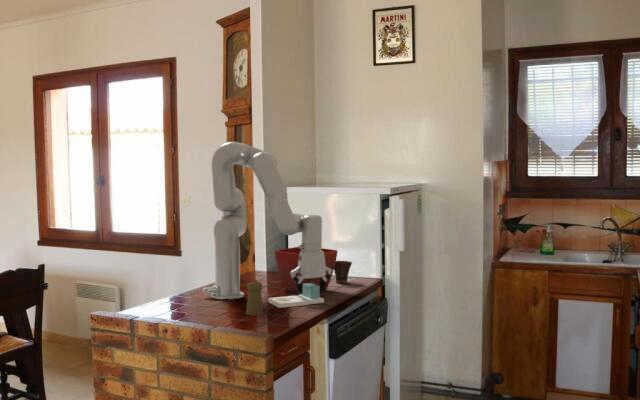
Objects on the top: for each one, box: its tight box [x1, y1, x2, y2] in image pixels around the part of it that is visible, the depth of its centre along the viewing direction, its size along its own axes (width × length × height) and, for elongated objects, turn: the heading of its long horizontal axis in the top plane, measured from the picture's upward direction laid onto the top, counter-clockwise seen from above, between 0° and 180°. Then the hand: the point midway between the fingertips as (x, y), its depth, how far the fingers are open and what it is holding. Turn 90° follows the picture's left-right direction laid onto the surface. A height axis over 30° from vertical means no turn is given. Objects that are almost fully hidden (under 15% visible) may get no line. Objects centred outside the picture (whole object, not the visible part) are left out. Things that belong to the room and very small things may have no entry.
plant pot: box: [274, 246, 338, 294], centre depth 242 cm, size 19×19×17 cm
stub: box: [297, 283, 325, 305], centre depth 223 cm, size 6×10×6 cm, turn 27°
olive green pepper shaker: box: [245, 280, 264, 316], centre depth 203 cm, size 6×6×11 cm
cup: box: [333, 260, 353, 285], centre depth 260 cm, size 9×9×10 cm
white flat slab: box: [268, 294, 310, 309], centre depth 219 cm, size 12×10×2 cm
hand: (311, 292), depth 223 cm, fingers open, 9 cm apart
